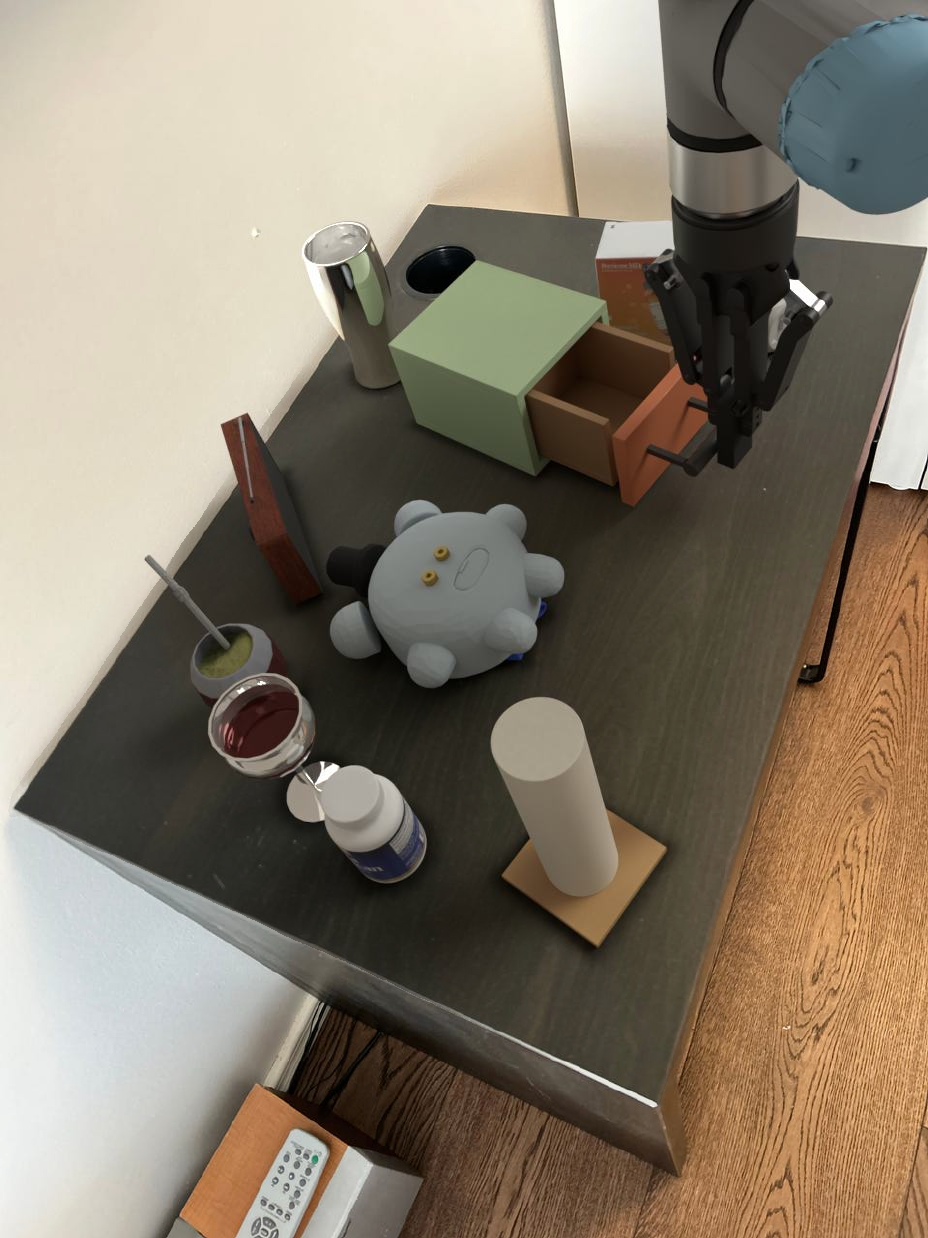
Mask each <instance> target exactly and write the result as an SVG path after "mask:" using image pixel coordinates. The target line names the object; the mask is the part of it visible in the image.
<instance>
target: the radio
mask: <svg viewBox="0 0 928 1238" xmlns="http://www.w3.org/2000/svg"><path fill="white" fill-rule="evenodd" d="M220 429H221V431H222V434H223V435H222V436H223V438H224V441H225V444H226V447H227V452H228V455H229V457H230V461H231V464H232V468H233V471H234V474H235V478H236V481H237V485H238V487H239V491H240V495H241V498H242V501H243V504H244V508H245V511H246V514H247V517H248V522H249V525H248V526H247V530H248V532H249V534H250V536H251V538H252V540H253V542H254V543H255V544H256V547H257V548H258V550H259V552H260V554H261V555H262V557H263V558H264V560H265V561H266V563H267V565H268V566H269V568H270V569H271V570H272V572H273V574H274V576H275V577H276V578H277V580H278V581H279V584H281V586H282V588H283V589H284V591H285V592H286V594H287V596H288V597H289V598H290V601H292V603H293V605H294V606H296V605H298V604H301V603H303V602H305V601H308V600H310V599H312V598H314V597H317V596H319V595H321V594H323V593H324V592H323V588H322V586H321V583H320V580H319V577H318V574H317V572H316V569H315V565H314V563H313V560H312V557H311V554H310V551H309V548H308V545H307V542H306V539H305V536H304V533H303V531H302V528H301V525H300V522H299V519H298V516H297V513H296V510H295V507H294V505H293V502H292V499H291V496H290V493H289V490H288V488H287V485H286V482H285V479H284V476H283V473H282V472H281V470H280V467H279V466H278V464H277V463H276V461H275V459H274V457H273V455H272V453H271V452H270V450H269V448H268V446H267V445H266V443H265V441H264V439H263V438H262V436H261V434H260V432H259V430H258V428H257V426H256V425H255V423H254V421H253V420H252V418H251V415H250V414H249V412H246V413H243V414H240V415H238V416H236V417H234V418H232V419H230V420H227V421H224V422H222V423H220Z"/></svg>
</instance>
